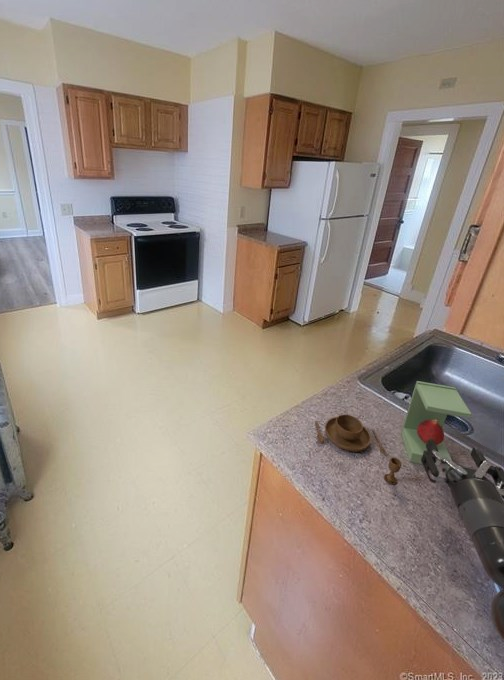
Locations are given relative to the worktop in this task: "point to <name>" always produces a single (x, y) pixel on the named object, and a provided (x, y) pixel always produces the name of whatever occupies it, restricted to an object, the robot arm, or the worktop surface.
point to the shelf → (430, 416)
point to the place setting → (355, 439)
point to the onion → (430, 431)
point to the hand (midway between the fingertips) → (451, 446)
